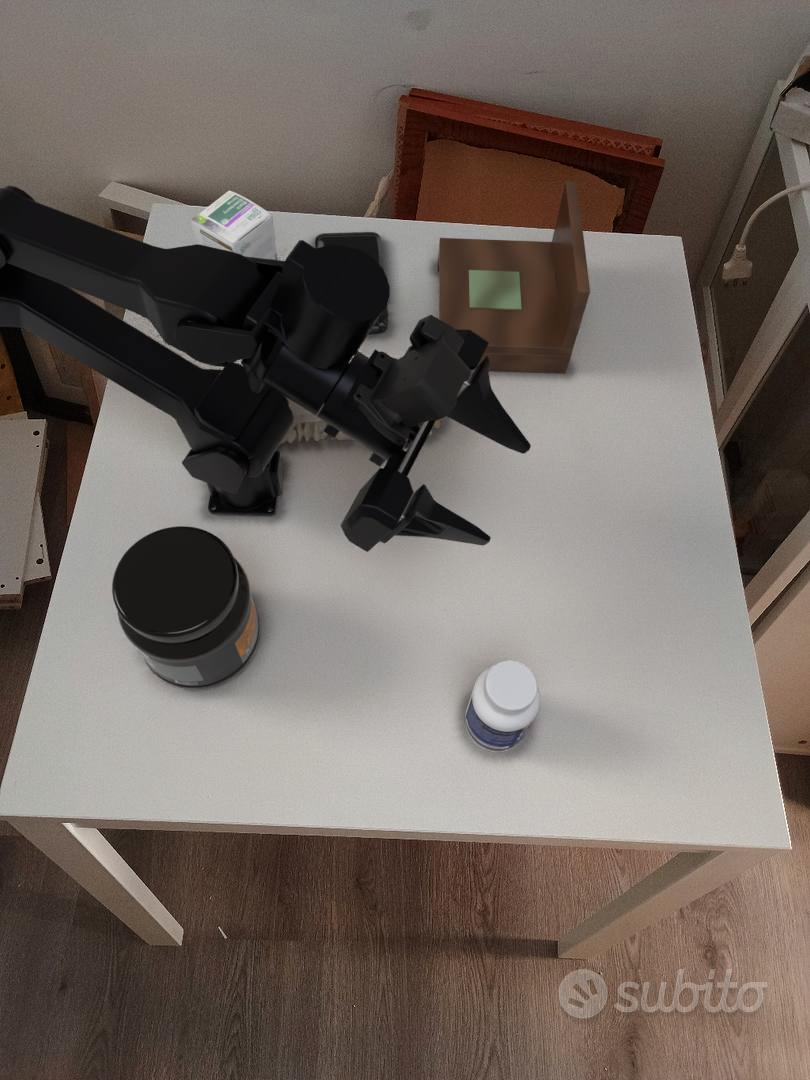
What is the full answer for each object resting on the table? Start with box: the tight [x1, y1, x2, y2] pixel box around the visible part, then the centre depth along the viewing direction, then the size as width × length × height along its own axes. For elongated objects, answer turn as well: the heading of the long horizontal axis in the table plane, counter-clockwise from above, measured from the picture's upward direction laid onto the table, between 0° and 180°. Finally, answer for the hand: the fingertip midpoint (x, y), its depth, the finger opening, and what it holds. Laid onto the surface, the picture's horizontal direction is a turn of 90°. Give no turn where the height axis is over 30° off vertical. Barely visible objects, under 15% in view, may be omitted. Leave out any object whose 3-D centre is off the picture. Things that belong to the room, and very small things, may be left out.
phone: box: [314, 231, 389, 335], centre depth 95 cm, size 8×1×15 cm
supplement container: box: [111, 525, 261, 691], centre depth 69 cm, size 10×10×12 cm
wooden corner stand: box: [437, 180, 591, 375], centre depth 89 cm, size 14×16×12 cm
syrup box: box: [190, 190, 279, 260], centre depth 86 cm, size 6×6×14 cm
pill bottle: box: [464, 659, 541, 753], centre depth 67 cm, size 5×5×10 cm
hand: (508, 494), depth 64 cm, fingers open, 9 cm apart
